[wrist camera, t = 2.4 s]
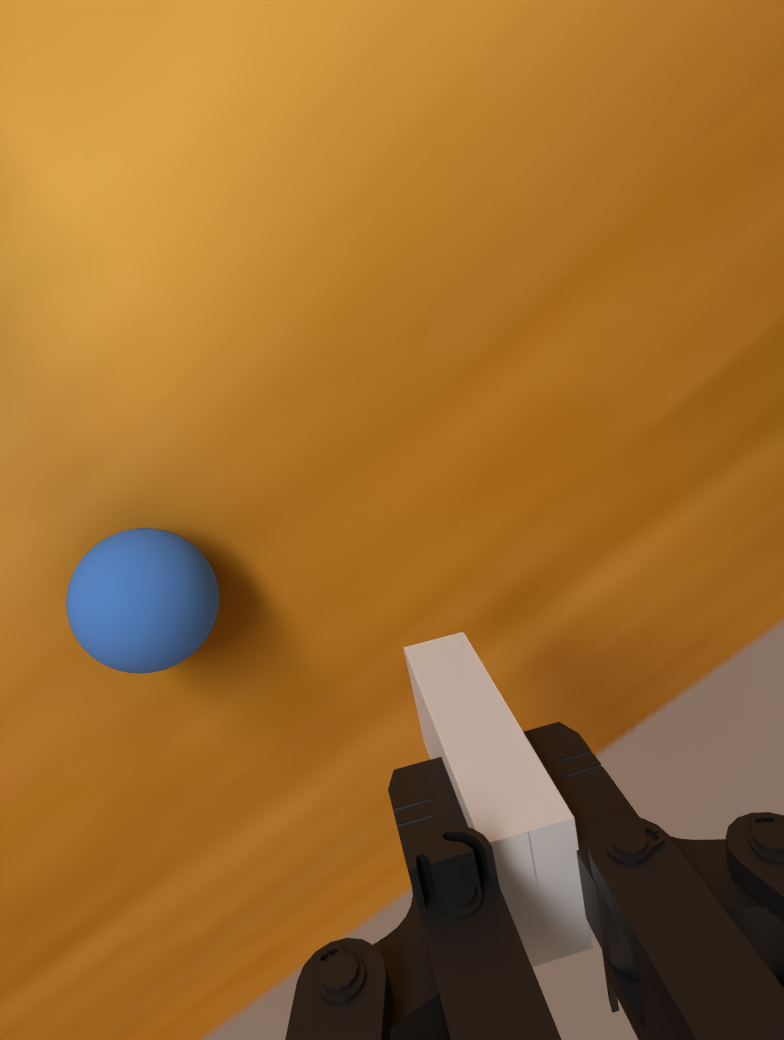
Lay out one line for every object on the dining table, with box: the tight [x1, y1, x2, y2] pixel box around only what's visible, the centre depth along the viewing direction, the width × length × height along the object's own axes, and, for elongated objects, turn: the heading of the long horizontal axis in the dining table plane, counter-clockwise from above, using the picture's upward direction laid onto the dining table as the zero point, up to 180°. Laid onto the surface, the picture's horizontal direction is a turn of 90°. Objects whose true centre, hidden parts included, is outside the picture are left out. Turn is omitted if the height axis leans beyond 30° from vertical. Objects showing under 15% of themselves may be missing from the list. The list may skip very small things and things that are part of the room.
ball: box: [66, 528, 219, 673], centre depth 27 cm, size 6×6×6 cm
